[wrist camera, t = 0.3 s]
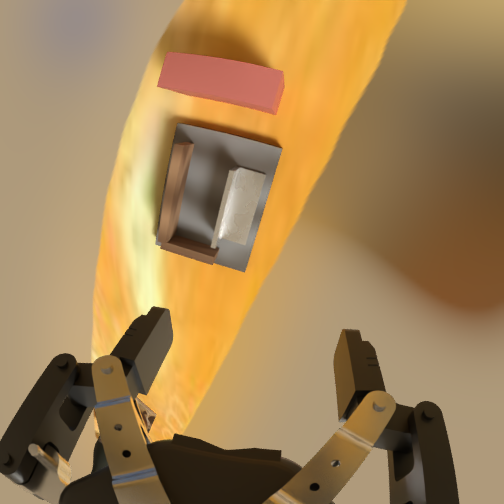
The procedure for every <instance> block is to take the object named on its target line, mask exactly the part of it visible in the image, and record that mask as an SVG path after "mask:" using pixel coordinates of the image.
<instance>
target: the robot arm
mask: <svg viewBox="0 0 504 504" xmlns="http://www.w3.org/2000/svg"><path fill="white" fill-rule="evenodd" d="M172 341H173V330H172V324H171V317H170V311H169V309H166V308H160V307H155V306H153V307H152V308H151V309H150V311H149V312H148V314H147V315H141V316H140V317H138V318H137V319H135V320H134V321H133V322H132V324H131V325H130V327H129V329H127V331H126V332H125V335H123V337H122V338H121V339H120V341H119V342H118V344H117V345H116V347H115V348H114V350H113V351H112V352H111V354H110V355H106V356H102V357H99V358H98V359H96V360H95V361H94V363H77V361H76V359H75V357H74V356H73V355H71V354H66V353H64V354H60V355H58V356H56V357H55V358H53V360H52V361H51V362H50V364H49V365H48V366H47V368H46V369H45V371H44V372H43V374H42V375H41V376H40V378H39V379H38V381H37V382H36V384H35V385H34V387H33V388H32V390H31V391H30V393H29V394H28V396H27V397H26V399H25V401H24V402H23V404H22V405H21V407H20V408H19V410H18V412H17V413H16V415H15V417H14V419H13V420H12V422H11V423H10V425H9V427H8V428H7V430H6V432H5V434H4V435H3V437H2V439H1V441H0V472H1V473H2V474H3V475H5V476H6V477H7V478H9V479H10V480H11V481H12V482H13V483H14V484H16V485H17V486H19V487H20V488H22V489H23V490H25V491H27V492H29V493H31V494H33V495H34V496H36V497H38V498H39V499H42V500H46V501H47V502H49V503H51V504H335V503H334V502H333V501H332V500H333V499H334V498H335V496H336V495H337V494H338V493H339V492H340V491H341V489H342V488H343V487H344V486H345V485H346V483H347V482H348V481H349V480H350V478H351V477H352V476H353V475H354V473H355V472H356V471H357V469H358V468H359V467H360V465H361V464H362V463H363V461H364V460H365V458H366V457H367V455H368V454H369V453H370V451H371V450H372V448H373V447H376V448H380V449H385V450H387V452H388V467H389V486H390V504H459V498H458V489H457V482H456V475H455V469H454V464H453V458H452V453H451V449H450V444H449V440H448V435H447V431H446V426H445V422H444V419H443V415H442V411H441V409H440V408H439V407H438V406H437V405H436V404H434V403H432V402H429V401H424V402H420V403H419V404H417V406H416V407H415V408H413V407H408V406H403V405H399V404H397V403H396V402H395V400H394V398H393V397H392V396H391V395H390V394H388V393H387V392H386V390H385V386H384V382H383V378H382V374H381V370H380V367H379V363H378V360H377V355H376V352H375V349H374V347H373V346H372V345H371V344H370V343H369V342H368V341H362V339H361V335H360V331H359V330H352V329H343V330H342V332H341V335H340V338H339V342H338V344H337V348H336V351H335V354H334V373H335V384H336V394H337V404H338V417H339V422H346V423H345V424H344V425H343V426H342V427H341V428H339V429H338V430H337V432H335V434H334V435H333V436H332V437H331V438H330V439H329V440H328V442H327V443H326V444H325V445H324V446H323V447H322V448H321V449H320V450H319V452H318V453H317V454H316V455H315V456H314V457H313V458H312V459H311V460H310V461H309V462H308V463H307V464H306V465H305V466H304V467H303V468H302V467H301V466H300V465H298V464H296V463H295V462H293V461H291V460H289V459H286V458H283V457H281V450H269V449H259V448H251V449H250V448H249V449H236V450H224V449H222V448H219V447H217V446H214V445H212V444H210V443H207V442H205V441H203V440H201V439H196V438H192V437H188V436H183V435H179V434H174V437H173V440H171V439H169V440H160V441H156V442H152V441H151V439H150V436H149V434H148V432H147V429H146V427H145V424H144V421H143V418H142V415H141V413H140V410H139V407H138V404H137V401H136V397H137V395H138V393H141V394H144V395H147V393H148V391H149V389H150V387H151V385H152V383H153V381H154V379H155V377H156V375H157V373H158V371H159V369H160V367H161V365H162V363H163V361H164V359H165V357H166V355H167V353H168V351H169V349H170V347H171V344H172ZM63 401H64V402H63ZM94 407H95V413H96V418H97V423H98V427H99V432H100V436H101V440H102V444H103V448H104V451H105V455H106V459H107V462H108V466H106V467H104V468H101V469H99V470H97V471H95V472H93V473H91V474H89V475H87V476H85V477H82V478H80V479H78V480H76V481H73V482H71V483H70V480H71V467H70V464H69V463H68V461H69V458H70V456H71V454H72V452H73V449H74V447H75V445H76V443H77V441H78V439H79V437H80V435H81V432H82V430H83V428H84V426H85V424H86V422H87V420H88V418H89V416H90V414H91V412H92V410H93V408H94Z"/></svg>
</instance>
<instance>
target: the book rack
mask: <svg viewBox="0 0 504 504" xmlns="http://www.w3.org/2000/svg"><path fill="white" fill-rule="evenodd" d="M281 151H282V148H280V147H277V146H273V145H270V144H266V143H263V142H259V141H255V140H252V139H248V138H244V137H240V136H236V135H233V134H228V133H224V132H220V131H216V130H211V129H207V128H202V127H198V126H193V125H188V124H183V123H177V127H176V132H175V136H174V140H173V145H172V150H171V154H170V159H169V164H168V169H167V174H166V180H165V185H164V191H163V197H162V203H161V209H160V215H159V222H158V229H157V236H156V245H159V246H161V248H160V249H163V250H166V251H169V252H173V253H176V254H179V255H182V256H185V257H188V258H191V259H195V260H198V261H201V262H204V263H207V264H210V265H213V263H216V264H219V265H222V266H226V267H229V268H232V269H235V270H239V271H242V272H245V270H246V267H247V264H248V260H249V257H250V254H251V251H252V247H253V244H254V241H255V237H256V234H257V231H258V227H259V224H260V221H261V217H262V214H263V211H264V208H265V204H266V201H267V198H268V194H269V191H270V188H271V184H272V181H273V178H274V175H275V171H276V168H277V165H278V161H279V158H280V155H281ZM235 166H238V167H241V168H245V169H249V170H252V171H256V172H259V173H263V174H266V177H265V180H264V184H263V187H262V190H261V194H260V197H259V201H258V204H257V207H256V211H255V214H254V218H253V221H252V224H251V228H250V231H249V235H248V238H247V242H246V245H242V244H239V243H236V242H232V241H229V240H226V239H222V238H221V240H220V241H219V243H218V245H217V246H216V248H211V244H212V239H213V235H214V231H215V227H216V222H217V218H218V214H219V210H220V206H221V202H222V198H223V194H224V190H225V186H226V182H227V178H228V174H229V170H230V169H232V168H233V167H235Z"/></svg>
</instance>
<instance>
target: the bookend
mask: <svg viewBox="0 0 504 504" xmlns="http://www.w3.org/2000/svg"><path fill="white" fill-rule="evenodd" d="M265 177H266V174H263V173H259V172H256V171H252V170H249V169H245V168H241V167H238V166H235V167H233V168H232V169H230V170H229V174H228V178H227V182H226V186H225V190H224V194H223V198H222V202H221V206H220V210H219V214H218V218H217V222H216V227H215V231H214V235H213V239H212V244H211V248H216V246H217V245H218V243H219V241H220V240H221V238H222V239H226V240H229V241H232V242H236V243H239V244H242V245H246V242H247V238H248V235H249V231H250V228H251V224H252V221H253V218H254V214H255V211H256V207H257V204H258V201H259V197H260V194H261V190H262V187H263V184H264V180H265Z"/></svg>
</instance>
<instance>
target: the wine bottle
mask: <svg viewBox="0 0 504 504" xmlns="http://www.w3.org/2000/svg"><path fill="white" fill-rule="evenodd" d="M99 438H100V436H99ZM99 438H98V440H99ZM98 440H97V442H96V444H95V448H94V456H93V457H94V458H93V469H92V472H91V473H93V472H95V471H97V470H99V469H101V468H104V467H106V466H108V462H107V459H106V455H105V451H104V448H103V444H102V443H101V442H100V441H98Z"/></svg>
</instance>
